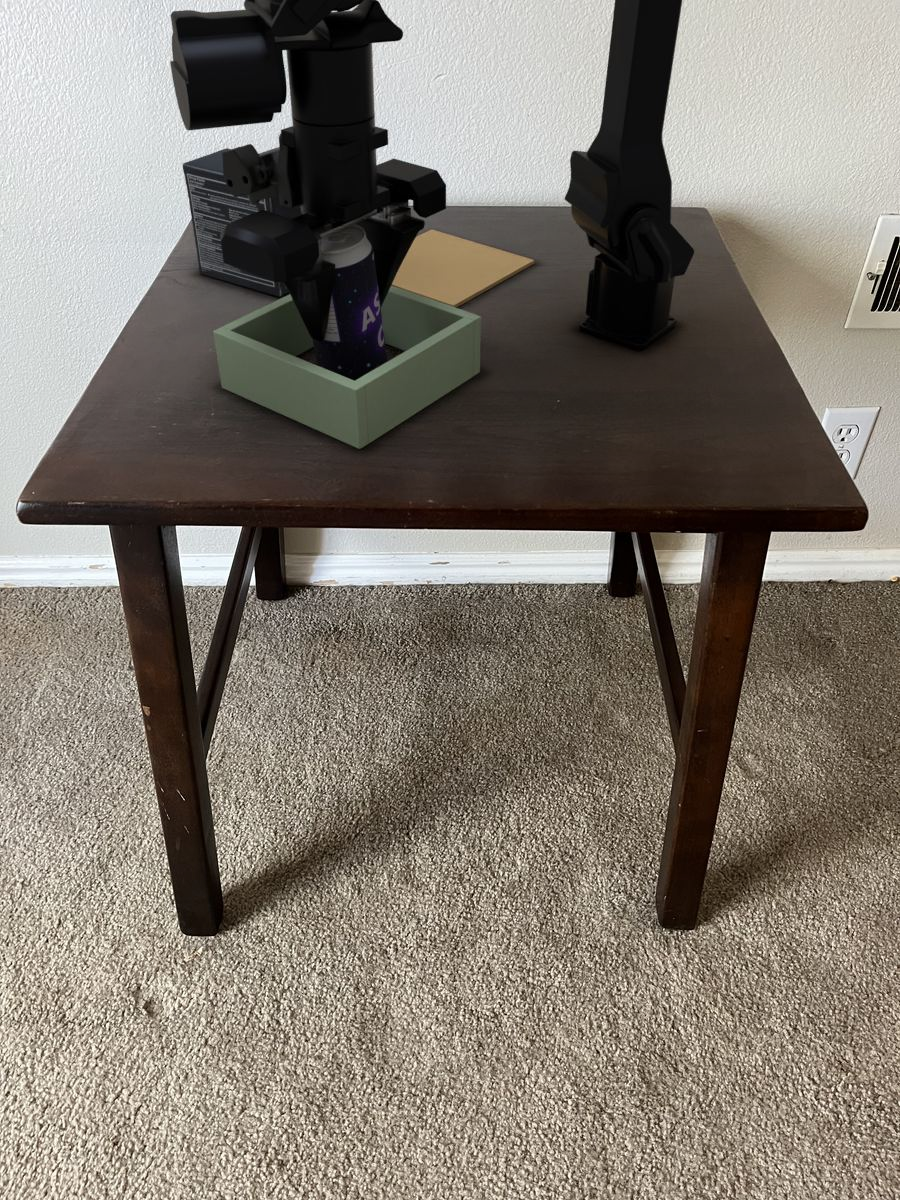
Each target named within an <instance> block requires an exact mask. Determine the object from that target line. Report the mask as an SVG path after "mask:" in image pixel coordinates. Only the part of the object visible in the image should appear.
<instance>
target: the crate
mask: <svg viewBox="0 0 900 1200" xmlns="http://www.w3.org/2000/svg"><path fill="white" fill-rule="evenodd" d="M381 314H382V322H383V330H384V337H385V345H388V346H391V347H394V348H396V349H399V350H402V351H403V352H402V353H400V354H398V355H397V356H395V357H393V358H391V359H389V360H388V362H386V363H385V364H383V365H381V366H379V367H378V368H376V369H374V370H372V371H371V372H369V373H367V374H366V375H364V376H362V377H360V378H359V379H357V380H355V381H354V380H351V379H349V378H346V377H344V376H342V375H339V374H337V373H334V372H332V371H329V370H327V369H324V368H322V367H319V366H317V364H314V363H312V362H309V361H307V360H304V359H302V358H300V357H297V356H299V355H301V354H303V353H305V352H307V351H309V350H311V349H313V348H314V345H313V339H312V338H311V336H310V335H309V332H308V330H307V328H306V326H305V324H304V322H303V320H302V318H301V316H300V314H299V312H298V310H297V307H296V305H295V303H294V301H293V299H292V297H291V295H290V293H289V294H287V295H284V296H282V297H281V298H279V299H277V300H275V301H272V302H270V303H269V304H267V305H265V306H263V307H260V308H258V309H256V310H254V311H252V312H250V313H248V314H246V315H243V316H242V317H239V318H237V319H235V320H233V321H231V322H228V323H227V324H225V325H223V326H220V327H219V328H217V329H214V330H213V331H212V335H213V336H212V337H213V341H214V347H215V353H216V359H217V366H218V372H219V379H220V384H221V388H222V389H224V390H226V391H228V392H231V393H233V394H235V395H237V396H238V397H242V398H244V399H246V400H248V401H250V402H252V403H256V404H258V405H259V406H262V407H265V408H266V409H268V410H271V411H274V412H275V413H277V414H280V415H282V416H284V417H287V418H289V419H290V420H293V421H295V422H298V423H300V424H302V425H304V426H307V427H308V428H311V429H313V430H316V431H318V432H320V433H322V434H325V435H326V436H329V437H331V438H333V439H336V440H338V441H340V442H343V443H345V444H347V445H349V446H351V447H353V448H355V449H358V450H361V449H363V448H364V447H366V446H367V445H369V444H371V443H372V442H374V441H375V440H377V439H378V438H381V437H382V436H383V435H385V434H386V433H388V432H389V431H391V430H392V429H394V428H395V427H397V426H399V425H401V424H402V423H404V422H405V421H407V420H408V419H410V418H411V417H413V416H414V415H415V414H417V413H419V412H421V411H422V410H423V409H426V407H428V406H430V405H432V404H433V403H435V402H436V401H438V400H439V399H441V398H442V397H444V396H446V395H447V394H448V393H450V392H451V391H453V390H455V389H456V388H458V387H460V386H461V385H463V384H465V383H466V382H467V381H469V380H470V379H472V378H473V377H475V376H476V375H478V374H479V373H480V372H481V338H482V336H481V335H482V316H481V315H478V314H476V313H473V312H469V311H467V310H465V309H461V308H459V307H457V308H455V307H452V306H449V305H446V304H443V303H441V302H438V301H435V300H432V299H429V298H426V297H423V296H420V295H417V294H414V293H411V292H408V291H405V290H402V289H400V288H397V287H394V286H391V287H390V289H389V292H388V294H387V296H386V298H385V300H384V302H383V305H382V307H381Z"/></svg>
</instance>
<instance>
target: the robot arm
mask: <svg viewBox="0 0 900 1200" xmlns="http://www.w3.org/2000/svg"><path fill="white" fill-rule="evenodd" d="M682 5H683V0H614V7H613V16H612V24H611V33H610V42H609V50H608V57H607V67H606V74H605V85H604V93H603V101H602V112H601V120H600V126H599V130H598V132H597V134H596V136H595V137H594V139H593V141H592V142H591V144H590V146H589V147H588V149H587V150H586V151H583V150H572V152H571V154H570V158H569V164H570V165H569V166H570V181H569V184H568V185H569V186H568V189H567V191H566V193H565V196H564V201H566V202H567V203H568V204H569V205H571V207H570V209H571V215H572V219H573V221H574V222H575V223H576V224H577V225H578V227H579V228H580V229H581V230H582V231H583V232H584V233H585V234H586V238H587V242H588V245H589V246H590V247H591V248H592V249H595V250H597V251H598V252H599V254H597V255H595V256H594V263H593V269H591V270H590V271H589V272H588V280H587V281H588V282H587V291H586V302H585V303H586V304H585V315H586V316H587V318H585V319H584V320H583V321H581V322H580V323H579V325H578V330H579V331H582V332H585V333H587V334H590V335H594V336H597V337H599V338H603V339H606V340H609V341H612V342H615V343H618V344H621V345H624V346H627V347H630V348H633V349H636V350H643V349H645V348H647V347H649V345H650V344H652V343H653V342H655V341H656V340H658V339H659V338H660V337H662V336H663V335H664V334H666V333H667V332H668V331H670V330H672V329H673V328H674V327H675V326H677V323H678V322H677V321H678V320H677V318H676V317H673V316H671V315H670V312H671V306H672V298H673V293H674V292H673V291H674V285H675V280H676V279H675V278H676V277H681V276H685V274H686V272H687V270H688V268H689V265H690V264H691V261H692V260H693V257H694V255H695V249H694V248H693V246H691V244H690V243H689V242H688V240H687V239H685V238H684V236H683V235H682V234H681V233H680V232H679V231H678V230H677V228H676V227H675V226H674V225H673V224H672V205H673V204H672V202H673V200H672V199H673V181H672V180H673V179H672V175H671V172H670V167H669V163H668V159H667V156H666V151H665V147H664V142H663V141H664V140H663V132H664V126H665V125H664V124H665V118H666V111H667V105H668V98H669V92H670V84H671V79H672V72H673V67H674V66H673V64H674V58H675V52H676V47H677V38H678V31H679V26H680V19H681V11H682ZM243 7H244V9H235V10H223V11H220V10H219V11H208V12H205V11H197V10H192V9H186V10H185V9H184V10H173V11H172V12H171V13H170V21H171V28H172V35H171V52H172V60H169V61H170V62H169V63H170V70H171V78H172V82H173V87H174V93H175V97H176V103H177V107H178V111H179V113H180V116H181V121H182V123H183V126H184V128H185V130H186V131H197V130H208V129H217V128H227V127H236V126H246V125H257V124H265V123H266V124H267V123H272V121H273V120H274V115H275V114H278V113H280V114H281V113H282V111H283V105H284V104H286V101H287V96H288V91H287V89H288V87H287V86H288V85H289V98H290V109H291V121H292V125H291V126H288V127H285V128H282V129H280V134H279V135H278V146H277V147H275V148H272V149H269V150H265V151H263V152H260V153H259V152H258V150H257V149H256V147H255V146H254V145H253V144H251V143H248V144H245V145H242V146H237V147H234V148H230V149H231V150H228V151H225V152H222V158H223V175H224V179H225V182H226V185H227V187H228V190H229V192H230V193H231V194H232V195H233V196H234V197H239V196H244V195H247V196H248V199H249V201H250V204H257V203H259V201H260V200H262V199H267V198H272V197H276V196H279V201H280V205H283V206H286V207H290V208H293V207H295V206H297V207H300V208H301V213H302V214H303V215H300V216H298V217H295V218H293V219H290V218H287V217H284V216H281V215H278V214H275V213H272V212H269V211H266V210H261V211H258V212H256V213H253V214H250V215H248V216H245V217H243V218H240V219H238V220H235V221H233V222H230V223H228V224H227V225H226V227H225V228H224V229H223V231H222V232H221V248H222V255H223V263H224V264H227V265H230V266H232V267H235V268H238V269H240V270H243V271H246V272H248V273H251V274H254V275H257V276H259V277H262V278H265V279H267V280H270V281H273V282H283V283H284V285H285V287H286V288H287V290H288V291H289V292H288V293H289V294H290V295H291V297H292V299H293V301H294V303H295V305H296V307H297V310H298V312H299V314H300V316H301V318H302V320H303V322H304V324H305V326H306V328H307V330H308V332H309V335H310V336H311V338H312V339H314V340H317V341H322V340H324V338H325V334H326V330H327V325H328V318H329V311H330V303H331V296H332V288H333V282H334V274H335V264H333V263H331V262H328V261H325V260H322V257H321V243H322V240H321V238H323V237H326V236H328V235H330V234H333V233H335V232H337V231H340V230H342V229H344V228H346V227H349V226H351V225H353V224H357V225H359V226H361V227H362V228H363V229H364V230H365V232H366V238H367V239H368V240H369V242H370V243H371V245H372V247H373V253H374V260H375V268H376V276H377V283H378V291H379V299H380V306H381V307H382V305H383V302H384V300H385V298H386V296H387V294H388V292H389V289H390V287H391V285H392V283H393V281H394V278H395V276H396V274H397V272H398V270H399V268H400V266H401V264H402V262H403V260H404V258H405V256H406V254H407V252H408V251H409V249H410V247H411V245H412V243H413V241H414V239H415V237H417V236H418V234H419V232H420V231H422V230H424V229H425V225H426V224H425V223H426V221H425V220H424V219H427V218H429V217H432V216H433V215H436V214H438V213H440V212H442V211H445V210H446V209H447V184H446V183H445V181H444V179H443V177H442V175H441V174H440V173H439V171H438V170H437V169H434V168H430V167H426V166H423V165H420V164H416V163H411V162H408V161H405V160H404V161H403V160H401V159H397V158H391V159H389V160H387V161H384V162H381V163H377V150H378V149H381V148H383V147H386V146H388V145H389V129H386V128H383V127H380V126H376V113H375V112H376V111H375V87H374V86H375V85H374V61H373V60H374V59H373V44H379V43H390V42H399V41H401V40H402V39H403V38H404V31H403V29H402V28H401V27H399V26H398V25H396V23H394V21H393V20H392V19H391V18H390V17H389V16H388V15H387V13H386V12H385V11H384V9H383V7H382V5H381V3H380V1H378V0H244V2H243ZM351 9H352V10H351ZM283 51H286V60H287V61H286V62H287V73H288V85H287V75H286V68H285V62H284V54H283ZM409 201H412V207H410V203H409ZM412 210H413V211H414V212H415V213H416V214H417V215H418V216H419V217H420V218H418V217H414V216H412ZM421 218H423V219H421Z"/></svg>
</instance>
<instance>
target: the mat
mask: <svg viewBox="0 0 900 1200" xmlns="http://www.w3.org/2000/svg"><path fill="white" fill-rule="evenodd" d="M534 264H535V260H534V259H532V258H529V257H526V256H522V255H519V254H516V253H512V252H509V251H506V250H502V249H499V248H495V247H492V246H489V245H485V244H482V243H479V242H476V241H472V240H469V239H466V238H462V237H459V236H456V235H453V234H449V233H445V232H443V231H439V230H436V229H429V230H428V231H425V232H423V233H421V234H419V235H417V236H416V237H415V239H414V241H413V243H412V245H411V247H410V249H409V251H408V252H407V254H406V256H405V258H404V260H403V262H402V264H401V266H400V268H399V270H398V272H397V274H396V276H395V278H394V281H393V283H392V285H391V286H394V287H397V288H400V289H402V290H405V291H408V292H411V293H414V294H417V295H420V296H423V297H426V298H429V299H432V300H435V301H438V302H441V303H443V304H446V305H449V306H452V307H455V308H459V307H460V306H462V305H464V304H465V303H467V302H469V301H471V300H472V299H474V298H477V297H478V296H480V295H482V294H483V293H485V292H487V291H489V290H491V289H492V288H494V287H496V286H497V285H499V284H501V283H503V282H504V281H506V280H508V279H510V278H511V277H514V276H515V275H517V274H519V273H520V272H522V271H524V270H525V269H527V268H529V267H532V266H533V265H534Z"/></svg>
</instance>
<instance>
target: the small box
mask: <svg viewBox="0 0 900 1200" xmlns="http://www.w3.org/2000/svg"><path fill="white" fill-rule="evenodd" d="M231 149H232V148H227V147H226V148H223V149H221V150H217V151H215V152H212V153H209V154H206V155H203V156H200V157H197V158H194V159H192V160H189V161H186V162H183V163H182V172H183V176H184V181H185V185H186V191H187V197H188V203H189V210H190V217H191V223H192V229H193V237H194V243H195V248H196V256H197V257H196V258H197V263H198V272H199V274H201V275H203V276H205V277H209V278H213V279H217V280H220V281H224V282H227V283H231V284H235V285H238V286H240V287H244V288H248V289H252V290H254V291H255V290H256V291H259V292H261V293H265V294H269V295H272V296H276V297H279V298H280V297H284V296H285V295H286V294H288V293H289V291H288V290H287V288H286V287H285V285H284V283H283V282H273V281H270V280H267V279H265V278H262V277H259V276H257V275H254V274H251V273H248V272H246V271H243V270H240V269H238V268H235V267H232V266H230V265H227V264H224V263H223V255H222V248H221V232H222V231H223V229H224V228H225V227H226V225H227V224H228V223H230V222H233V221H235V220H238V219H240V218H243V217H245V216H248V215H250V214H253V213H256V212H258V211H261V210H266V211H269V212H272V213H275V214H278V215H281V216H284V217H287V218H290V219H293V218H295V217H298V216H300V215H303V214H302V213H301V208H300V207H297V206H295V207H293V208H290V207H286V206H283V205H280V201H279V196H276V197H272V198H267V199H262V200H260V201H259V203H257V204H250V201H249V199H248V196H247V195H244V196H239V197H234V196H233V195H232V194H231V193H230V192H229V190H228V187H227V185H226V182H225V179H224V175H223V158H222V152H225V151H228V150H231Z"/></svg>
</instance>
